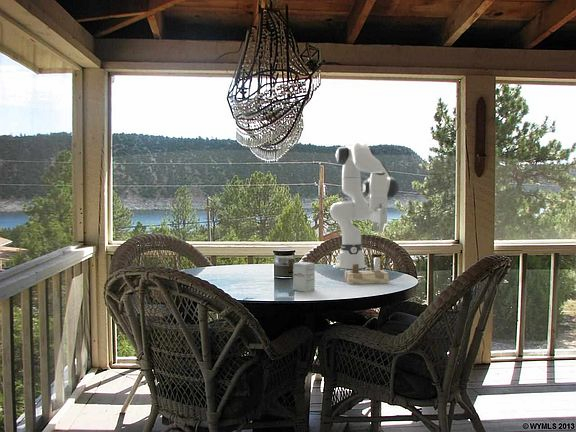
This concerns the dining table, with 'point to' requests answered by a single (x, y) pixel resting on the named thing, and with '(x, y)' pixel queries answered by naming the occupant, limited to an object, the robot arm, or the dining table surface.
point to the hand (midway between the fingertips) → (378, 231)
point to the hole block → (366, 277)
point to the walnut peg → (355, 268)
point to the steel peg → (376, 265)
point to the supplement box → (303, 276)
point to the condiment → (373, 261)
